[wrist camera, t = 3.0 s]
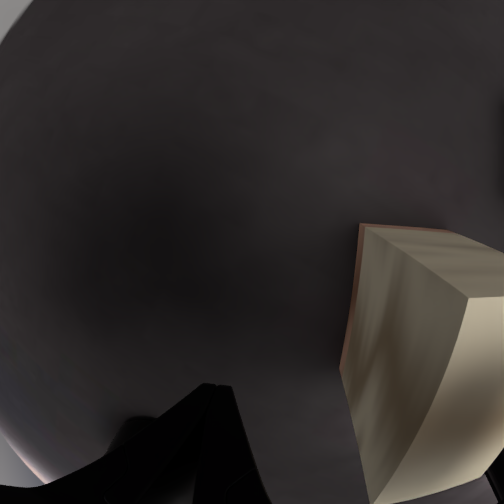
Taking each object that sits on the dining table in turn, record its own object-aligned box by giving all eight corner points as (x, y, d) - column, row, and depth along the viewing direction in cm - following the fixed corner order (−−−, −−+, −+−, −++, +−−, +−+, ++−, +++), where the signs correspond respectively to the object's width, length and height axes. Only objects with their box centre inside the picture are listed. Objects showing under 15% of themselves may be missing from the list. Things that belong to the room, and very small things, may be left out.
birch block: (417, 363, 15) (480, 476, 6) (338, 368, 15) (370, 507, 7) (447, 229, 13) (577, 290, 4) (359, 223, 13) (468, 298, 5)
